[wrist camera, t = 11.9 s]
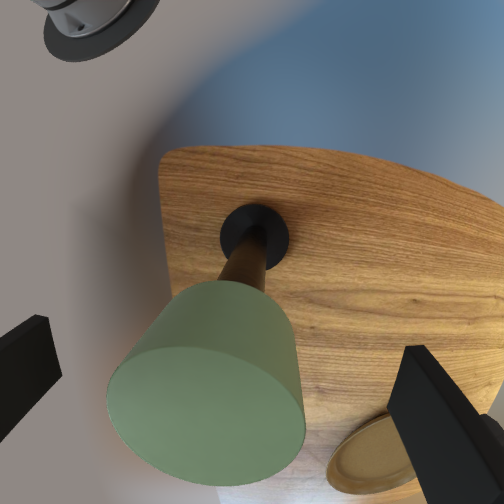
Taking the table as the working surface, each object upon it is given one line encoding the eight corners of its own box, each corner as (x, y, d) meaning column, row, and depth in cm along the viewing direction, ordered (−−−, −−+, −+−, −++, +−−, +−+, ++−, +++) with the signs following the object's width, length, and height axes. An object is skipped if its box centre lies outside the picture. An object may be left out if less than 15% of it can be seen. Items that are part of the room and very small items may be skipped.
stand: (207, 235, 38) (99, 330, 12) (256, 189, 36) (226, 203, 11) (252, 282, 39) (224, 440, 13) (302, 239, 37) (361, 351, 12)
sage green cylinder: (133, 335, 12) (75, 404, 8) (226, 249, 11) (194, 298, 6) (224, 417, 13) (207, 501, 8) (323, 350, 12) (346, 437, 7)
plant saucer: (459, 434, 44) (466, 444, 40) (362, 495, 48) (364, 506, 45) (419, 372, 41) (427, 384, 37) (296, 451, 45) (297, 465, 42)
